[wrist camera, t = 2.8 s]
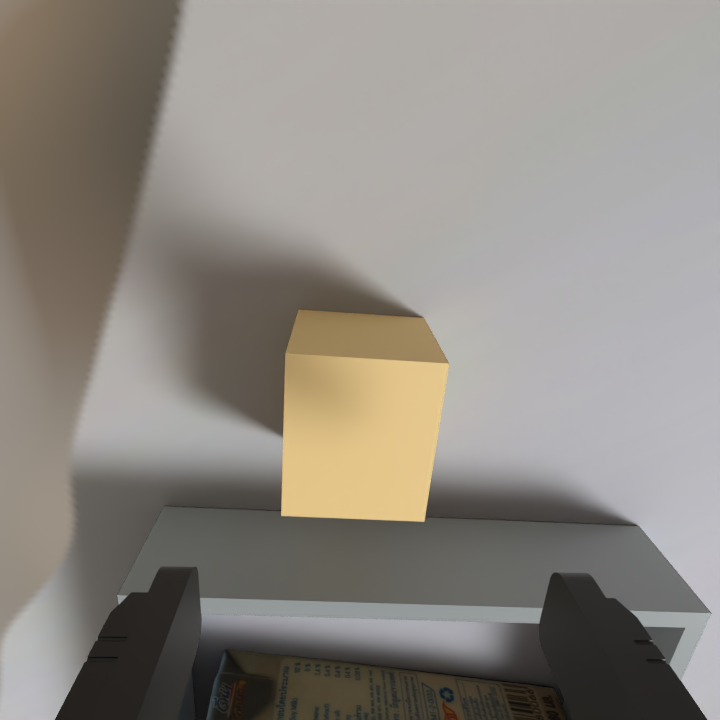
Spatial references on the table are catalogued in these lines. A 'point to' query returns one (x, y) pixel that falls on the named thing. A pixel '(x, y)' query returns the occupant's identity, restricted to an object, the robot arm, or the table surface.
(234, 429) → the table surface
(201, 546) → the tote tray
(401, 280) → the table surface
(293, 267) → the table surface
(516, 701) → the beverage carton
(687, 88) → the table surface
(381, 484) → the yellow box
